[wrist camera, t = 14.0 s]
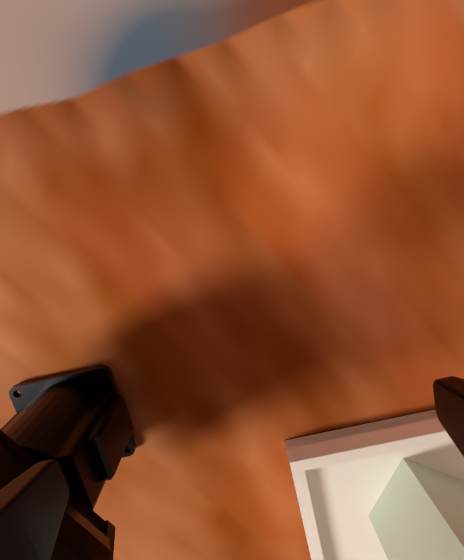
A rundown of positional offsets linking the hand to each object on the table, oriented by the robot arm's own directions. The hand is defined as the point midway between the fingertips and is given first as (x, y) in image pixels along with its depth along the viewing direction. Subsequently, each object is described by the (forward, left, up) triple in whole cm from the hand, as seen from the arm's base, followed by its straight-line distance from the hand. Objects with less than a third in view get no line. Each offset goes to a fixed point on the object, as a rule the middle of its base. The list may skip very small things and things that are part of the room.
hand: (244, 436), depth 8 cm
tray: (+9, -17, -13) cm, 23 cm away
